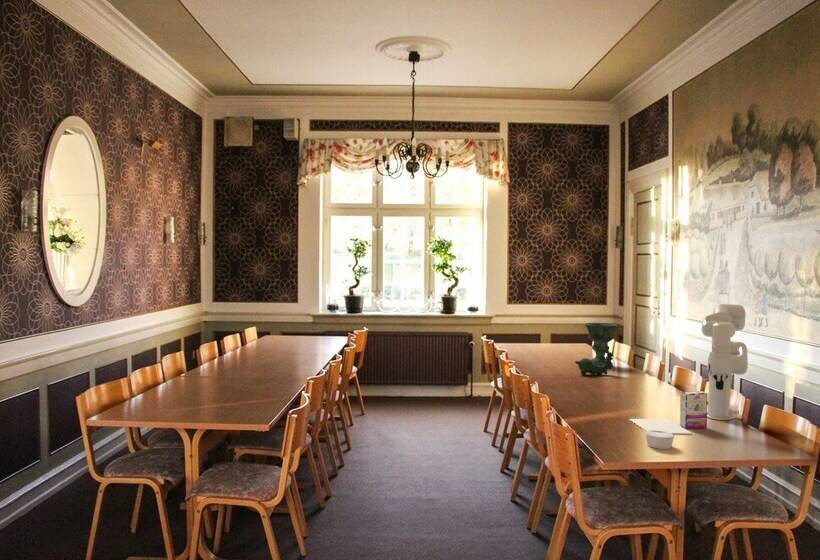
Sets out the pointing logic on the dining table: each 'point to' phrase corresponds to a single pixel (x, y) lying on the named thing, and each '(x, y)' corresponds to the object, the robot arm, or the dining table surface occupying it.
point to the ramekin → (659, 439)
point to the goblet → (600, 339)
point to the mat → (660, 425)
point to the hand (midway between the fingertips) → (719, 389)
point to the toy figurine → (592, 368)
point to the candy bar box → (693, 409)
